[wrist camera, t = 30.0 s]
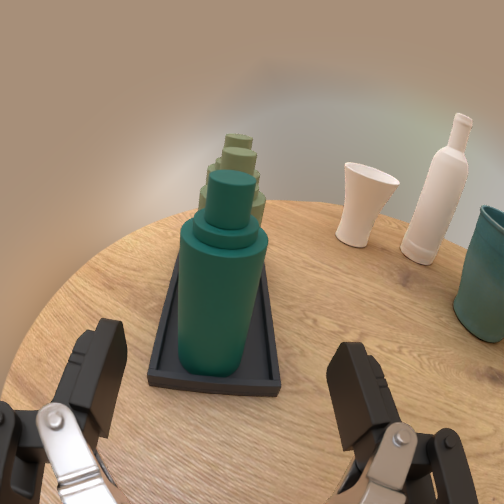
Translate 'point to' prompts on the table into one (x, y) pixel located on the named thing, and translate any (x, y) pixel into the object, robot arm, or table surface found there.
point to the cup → (363, 202)
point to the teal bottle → (219, 276)
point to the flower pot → (484, 279)
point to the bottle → (439, 196)
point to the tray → (252, 363)
